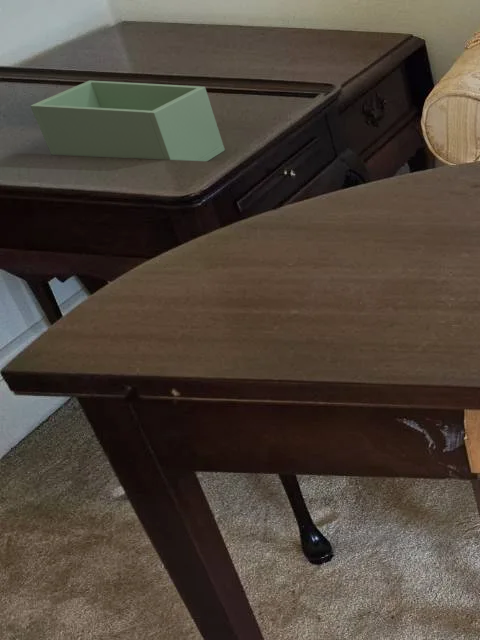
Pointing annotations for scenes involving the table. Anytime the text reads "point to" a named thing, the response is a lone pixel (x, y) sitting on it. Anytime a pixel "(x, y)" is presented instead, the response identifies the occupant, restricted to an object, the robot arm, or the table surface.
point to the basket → (130, 121)
